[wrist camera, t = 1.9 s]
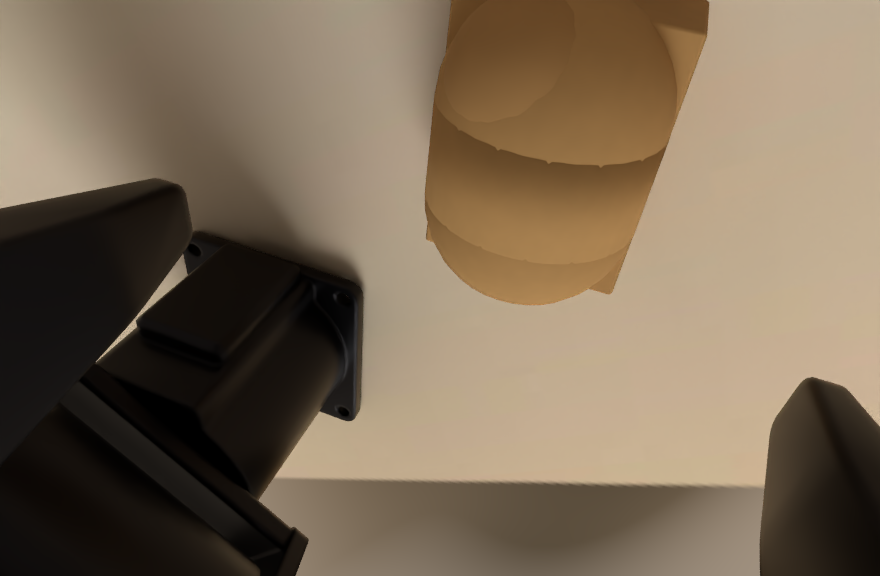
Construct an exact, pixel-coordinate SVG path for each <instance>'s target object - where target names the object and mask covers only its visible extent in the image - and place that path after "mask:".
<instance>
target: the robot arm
mask: <svg viewBox="0 0 880 576" xmlns="http://www.w3.org/2000/svg"><path fill="white" fill-rule="evenodd" d="M182 254H184V259H185V264H186V268H187V273H188V276H187V277H185V278H184V279H183V280H182V281H181V282H180V283H178V284H177V285H176V286H175V287H174V288H172V289H171V290H170V291H169V292H168V293H167V294H165V295H164V296H163V297H162V298H161V299H159V300H158V301H157V302H156V303H155V304H154V305H152V306H151V307H150V308H149V309H148V310H146V311H145V312H144V313H143V314H142V315H141V316H139V317H138V319H137V320H136V324H137V328H135V329H134V330H133V331H132V332H131V333H130V334H128V335H127V336H126V337H125V338H124V339H123V340H121V341H120V342H119V343H118V344H117V345H116V346H115V347H113V348H112V349H111V350H110V351H109V352H108V353H106V354H105V355H104V356H103V357H102V358H101V359H99V357H100V356H101V355H102V354H103V353H104V352H105V351H106V350H107V349H108V348H109V346H110V345H111V344H112V343H113V342H114V341H115V340H116V339H117V338H118V337H119V335H120V334H121V333H122V332H123V331H124V330H125V329H126V328H127V326H128V325H129V324H130V323H131V322H132V321H133V320H134V318H135V317H136V316H137V315H138V313H139V312H140V311H141V309H142V308H143V307H144V306H145V304H146V303H147V302H148V300H149V299H150V297H151V296H152V295H153V293H154V292H155V291H156V289H157V288H158V287H159V285H160V284H161V282H162V281H163V280H164V278H165V277H166V276H167V274H168V273H169V272H170V270H171V269H172V267H173V266H174V265H175V263H176V262H177V261H178V259H179V258H180V257H181V255H182ZM344 294H345V295H347V296H348V297H349V298H350V299H349V298H347V297H345V296H344ZM362 328H363V293H362V291H361V289H360V287H359V286H357V285H356V284H355V283H354V282H352V281H350V280H347V279H344V278H340V277H337V276H334V275H331V274H328V273H325V272H322V271H319V270H316V269H313V268H310V267H307V266H304V265H300V264H297V263H294V262H291V261H288V260H285V259H282V258H279V257H276V256H273V255H270V254H267V253H264V252H261V251H257V250H254V249H251V248H248V247H245V246H242V245H239V244H236V243H233V242H230V241H227V240H224V239H221V238H217V237H214V236H211V235H208V234H205V233H202V232H198V231H194V232H193V230H192V224H191V218H190V213H189V208H188V202H187V197H186V193H185V191H184V189H183V188H182V187H181V186H180V185H178V184H175V183H172V182H169V181H166V180H162V179H157V178H154V179H148V180H143V181H138V182H133V183H128V184H122V185H117V186H112V187H107V188H102V189H97V190H92V191H87V192H82V193H77V194H72V195H67V196H62V197H56V198H51V199H46V200H41V201H36V202H31V203H26V204H21V205H16V206H11V207H6V208H1V209H0V576H295V575H296V572H297V570H298V568H299V565H300V562H301V560H302V557H303V554H304V552H305V549H306V546H307V544H308V538H307V537H305V535H303V534H302V533H301V532H300V531H299V530H297V529H296V528H295V527H293V528H290V527H289V526H288V525H286V524H285V523H284V522H283V521H282V520H281V519H279V518H278V517H277V516H276V515H275V514H274V513H272V512H271V511H270V510H269V509H268V508H266V507H265V506H264V505H263V504H262V503H260V502H259V501H258V500H259V498H260V497H261V495H262V494H263V492H264V491H265V490H266V488H267V487H268V485H269V484H270V482H271V481H272V479H273V478H274V476H275V475H276V473H277V472H278V471H279V469H280V468H281V466H282V465H283V463H284V462H285V460H286V459H287V457H288V456H289V455H290V453H291V452H292V450H293V449H294V447H295V446H296V444H297V443H298V441H299V440H300V438H301V437H302V436H303V434H304V433H305V431H306V430H307V428H308V427H309V425H310V424H311V422H312V421H313V420H314V418H315V417H316V415H317V414H318V412H319V411H321V412H323V413H326V414H329V415H331V416H334V417H337V418H339V419H342V420H345V421H352V420H354V419H355V417H356V416H357V414H358V412H359V410H360V397H361V362H362ZM98 359H99V360H98ZM97 360H98V361H97ZM96 361H97V362H96ZM760 576H880V427H879V425H878V424H877V423H876V422H875V421H874V420H873V418H872V417H871V416H870V415H869V414H868V413H867V411H866V410H865V409H864V408H863V407H862V406H861V405H860V403H859V402H858V401H857V400H856V399H855V398H854V396H853V395H852V394H851V393H850V392H849V391H848V390H847V389H846V388H844V387H843V386H840V385H837V384H834V383H831V382H828V381H824V380H821V379H818V378H814V377H811V378H806V379H805V380H803V381H802V382H801V383H800V384H799V386H798V387H797V389H796V390H795V391H794V393H793V394H792V396H791V397H790V398H789V400H788V401H787V403H786V404H785V405H784V407H783V408H782V410H781V411H780V412H779V414H778V415H777V417H776V418H775V420H774V422H773V425H772V428H771V432H770V438H769V448H768V458H767V469H766V479H765V489H764V500H763V510H762V520H761V532H760Z"/></svg>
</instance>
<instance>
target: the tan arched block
mask: <svg viewBox="0 0 880 576" xmlns="http://www.w3.org/2000/svg"><path fill="white" fill-rule="evenodd" d="M708 14H709V2H708V1H706V0H451V9H450V18H449V28H448V37H447V46H446V55H445V57H444V60H443V62H442V64H441V67H440V71H439V76H438V81H437V86H436V91H435V96H434V106H433V116H432V126H431V136H430V146H429V156H428V166H427V176H426V187H425V212H426V216H427V221H428V225H427V234H426V239H427V240H429V241H432V242H434V243H435V245H436V247H437V249H438V250H439V252H440V254H441V256H442V258H443V260H444V261H445V263H446V264H447V265H448V266H449V267H450V268H451V269H452V270H453V272H454V273H455V274H456V275H457V276H458V277H459V278H460V279H461V280H462V281H464V282H465V283H466V284H468V285H469V286H470V287H472V288H473V289H475V290H477V291H479V292H480V293H482V294H484V295H487V296H489V297H492V298H494V299H497V300H501V301H505V302H509V303H513V304H522V305H544V304H550V303H555V302H558V301H561V300H564V299H567V298H570V297H572V296H575V295H578V294H580V293H582V292H583V291H585V290H587V289H592V290H595V291H598V292H602V293H605V294H611V293H612V291H613V289H614V286H615V283H616V281H617V278H618V275H619V272H620V270H621V267H622V264H623V262H624V259H625V256H626V254H627V251H628V248H629V245H630V243H631V240H632V237H633V236H634V233H635V230H636V228H637V225H638V222H639V220H640V217H641V214H642V212H643V209H644V206H645V203H646V201H647V198H648V195H649V193H650V190H651V187H652V185H653V182H654V179H655V177H656V174H657V171H658V168H659V166H660V163H661V160H662V158H663V155H664V152H665V150H666V147H667V144H668V141H669V139H670V135H671V132H672V130H673V127H674V124H675V121H676V119H677V116H678V113H679V111H680V108H681V105H682V103H683V100H684V97H685V95H686V92H687V89H688V86H689V84H690V81H691V78H692V76H693V73H694V70H695V68H696V65H697V62H698V59H699V57H700V54H701V51H702V49H703V46H704V43H705V41H706V38H707V30H708Z"/></svg>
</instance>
